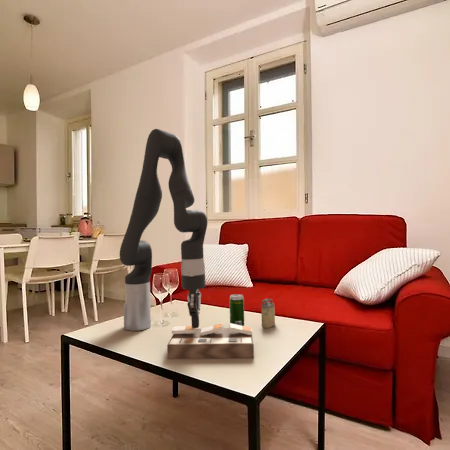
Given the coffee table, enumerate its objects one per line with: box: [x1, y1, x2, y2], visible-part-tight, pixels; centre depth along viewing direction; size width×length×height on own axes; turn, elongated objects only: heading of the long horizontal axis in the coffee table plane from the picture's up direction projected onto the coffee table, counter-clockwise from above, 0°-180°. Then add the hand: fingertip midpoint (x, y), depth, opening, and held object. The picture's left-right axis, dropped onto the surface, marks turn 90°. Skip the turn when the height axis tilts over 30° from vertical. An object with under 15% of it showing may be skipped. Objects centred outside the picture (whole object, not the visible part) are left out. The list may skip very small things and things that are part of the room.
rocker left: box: [171, 325, 197, 335], centre depth 98 cm, size 7×4×1 cm, turn 88°
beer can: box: [229, 293, 245, 326], centre depth 115 cm, size 5×5×12 cm
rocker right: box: [228, 322, 253, 336], centre depth 97 cm, size 7×4×1 cm, turn 88°
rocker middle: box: [200, 322, 224, 336], centre depth 97 cm, size 7×4×1 cm, turn 89°
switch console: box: [166, 327, 255, 360], centre depth 96 cm, size 25×14×5 cm, turn 88°
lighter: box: [260, 298, 276, 329], centre depth 117 cm, size 7×4×10 cm, turn 145°
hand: (195, 327), depth 97 cm, fingers closed
